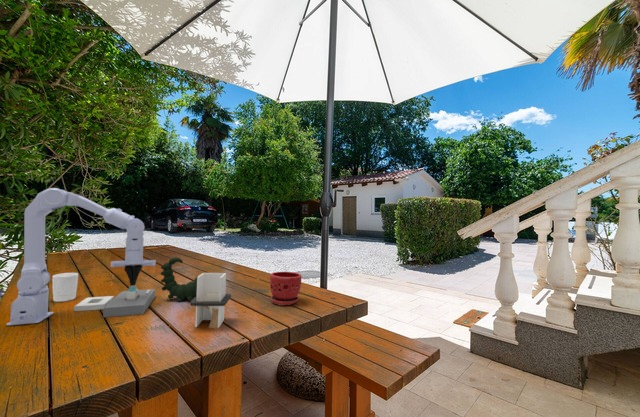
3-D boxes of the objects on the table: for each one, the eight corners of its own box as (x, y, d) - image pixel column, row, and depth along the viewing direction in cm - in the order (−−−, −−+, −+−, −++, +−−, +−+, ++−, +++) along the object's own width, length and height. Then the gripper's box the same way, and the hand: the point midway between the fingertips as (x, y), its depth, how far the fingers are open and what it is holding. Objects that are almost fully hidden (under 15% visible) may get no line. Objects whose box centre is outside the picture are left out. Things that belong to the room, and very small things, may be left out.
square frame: (104, 309, 105) (104, 304, 105) (74, 311, 102) (74, 306, 102) (113, 300, 115) (114, 295, 115) (86, 302, 112) (86, 297, 112)
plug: (134, 307, 108) (135, 288, 108) (126, 308, 107) (127, 288, 107) (137, 304, 112) (138, 285, 112) (129, 304, 111) (130, 285, 111)
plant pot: (295, 308, 112) (296, 278, 113) (264, 305, 115) (265, 275, 115) (304, 299, 125) (304, 271, 125) (275, 296, 128) (276, 269, 128)
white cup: (65, 302, 111) (66, 277, 111) (45, 302, 111) (46, 276, 111) (82, 296, 119) (83, 272, 119) (64, 296, 119) (65, 272, 119)
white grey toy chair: (153, 341, 82) (155, 284, 82) (185, 311, 106) (186, 267, 106) (241, 339, 84) (243, 284, 84) (253, 311, 108) (254, 268, 109)
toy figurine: (158, 307, 114) (220, 303, 114) (155, 260, 114) (217, 256, 115) (170, 299, 124) (227, 296, 124) (168, 256, 124) (225, 253, 124)
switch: (143, 314, 101) (143, 304, 102) (103, 317, 97) (103, 307, 97) (155, 296, 122) (155, 288, 122) (122, 298, 118) (122, 290, 118)
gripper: (157, 248, 116) (156, 281, 116) (115, 248, 111) (114, 283, 111) (154, 250, 110) (152, 285, 109) (109, 251, 105) (107, 288, 104)
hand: (133, 284), depth 110 cm, fingers closed
